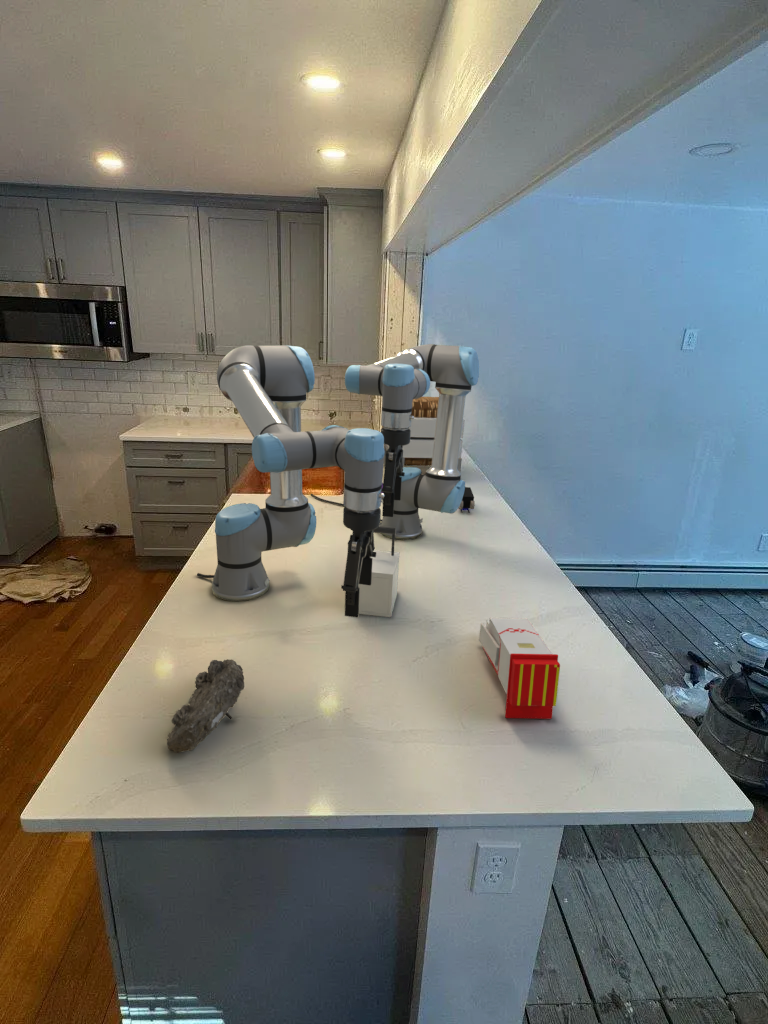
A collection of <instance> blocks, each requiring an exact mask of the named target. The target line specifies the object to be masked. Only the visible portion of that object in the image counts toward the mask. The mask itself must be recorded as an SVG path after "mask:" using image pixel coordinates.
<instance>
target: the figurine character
mask: <svg viewBox="0 0 768 1024" xmlns="http://www.w3.org/2000/svg"><path fill="white" fill-rule="evenodd" d="M475 505H476V503H475V496H474V493H473V489H472V488H471V487H470V486H465V491H464V495H463V498H462V501H461V504H460V506H459V508H458V510H459V511H460V513H461V514H463V513H464V512H463V511H467V514H470V513H471V510H474V509H475Z"/></svg>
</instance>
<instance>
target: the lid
mask: <svg viewBox="0 0 768 1024" xmlns="http://www.w3.org/2000/svg"><path fill="white" fill-rule="evenodd" d="M373 532H374V534H380V533H383V534H392V539H391V547H390V550H391V551H389V550H379V549H378V550H377V549H374V551H373V552H376V557H370V558H373V559H372V577H379V578H389V579H393V577H394V574H395V570H396V567H397V563H398V560H399V561H400V557H401V556H400V554H401V552H398V551H395V545H396V544H395V541H396V540H395V534H396V527H386V526H379V527H378V528H376V529H374V530H373Z"/></svg>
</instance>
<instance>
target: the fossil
mask: <svg viewBox="0 0 768 1024" xmlns="http://www.w3.org/2000/svg"><path fill="white" fill-rule="evenodd" d="M243 670H244V669H243V667H242V665H240V664H237V662H236V661H235V660H234V659H232V658H231V659H227V658H226V659H224V660H223V661H222V660H217V659H212V660H211V661H210V663H209V665H208V666H207V671H201V672H199V673H198V674H197V675H196V676H195V680H194V684H195V685H194V687H195V689H194V690H193V693H192V694H191V697H190V698H189V700H188V704H184V705H182V706H181V707H180V709H177V710H176V711H175V713H174V715H173V716H172V718H171V723H172V724H173V727H172V730H171V731H170V732H168V734H167V738H166V741H167V742H166V745H167V749H168V750H169V751H173V752H174V753H176V754H178V753H182V752H188V751H189V752H192V751H193V750H195V748H196V747H197V746H199V744H200V743H201V742H203V741H204V740H205V739H206V738H207V737H208V736H209V735H210V734H211V733H212V732H214V730H215V729H217V727H218V726H219V724H220V722H221V721H222V720H223V719H224V718H225V716H226V717H227V719H229V720H233V717H232V715H230V714H229V710H230V709H231V708H234V706H235V704H236V703H237V702H238V699H239V697H240V695H241V693H242V691H243V690H245V689H244V688H245V675H244V671H243Z"/></svg>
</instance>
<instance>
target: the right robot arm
mask: <svg viewBox="0 0 768 1024" xmlns="http://www.w3.org/2000/svg"><path fill="white" fill-rule="evenodd" d="M479 377H480V361H479V356H478V352H477V351H476V349H475V348H474V347H470V346H464V345H451V344H450V345H449V344H436V343H435V344H434V343H427V344H421V345H420V344H419V345H417V346H416V345H415V346H412V347H409V348H406V349H403V350H400V351H399V352H398V353H397V355H395V356H392V357H389V358H385V359H382V360H380V361H377V362H374V363H371V364H368V365H361V364H351V365H349V366H348V367H347V369H346V371H345V375H344V385H345V389H346V390H347V392H349V393H351V394H357V395H367V396H378V397H381V398H382V400H381V413H380V426H381V428H380V432H381V433H382V434H383V436H384V444H387V445H389V449H388V451H386V462H385V466H384V470H383V479H382V482H383V488H382V491H381V492H383V493H384V495H385V496H384V498H382V510H381V513H382V514H381V516H382V519H381V518H380V525H379V526H386V527H396V534H395V541H410V540H415V539H418V538H420V537H421V536H422V535H423V525H422V523H423V520H424V519H423V517H422V518H420V515H419V509H420V510H427V511H433V512H438V513H441V514H443V513H444V514H454V513H456V512H457V511H458V510H459V506H460V504H461V501H462V498H463V495H464V491H465V487H466V481H464V480H463V479H462V473H460V472H459V471H458V469H457V465H458V456H459V448H460V439H461V440H462V438H461V431H462V423H463V419H464V414H465V406H466V397H467V395H468V394H470V393H471V392H472V387H474V386H476V385H477V384H478V382H479ZM431 382H434V383H435V384H434V386H435V387H434V388H435V390H436V391H437V392H438V397H439V400H438V410H437V419H436V428H435V438H434V447H433V456H432V465H430V466H429V468H427V469H426V471H425V474H422V470H421V468H419V467H416V466H404V467H403V446H404V445H408V444H409V443H410V434H411V430H410V429H409V427H411V419H414V416H411V413H412V412H411V411H412V401H413V399H418V398H420V397H424V396H425V395H426V394H427V393H428V391H430V388H431ZM310 496H311V497H313V498H315V499H316V500H319V501H321V502H325V503H329V504H333V505H337V506H341V507H342V506H343V507H345V506H344V505H343V503H341V502H336V501H332V500H329V499H328V500H327V499H324V498H321V497H319V496H317V495H315V494H313V493H310ZM379 534H380V535H381V536H382V537H385V538H387V539H389V540H392V534H383V533H379Z"/></svg>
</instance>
